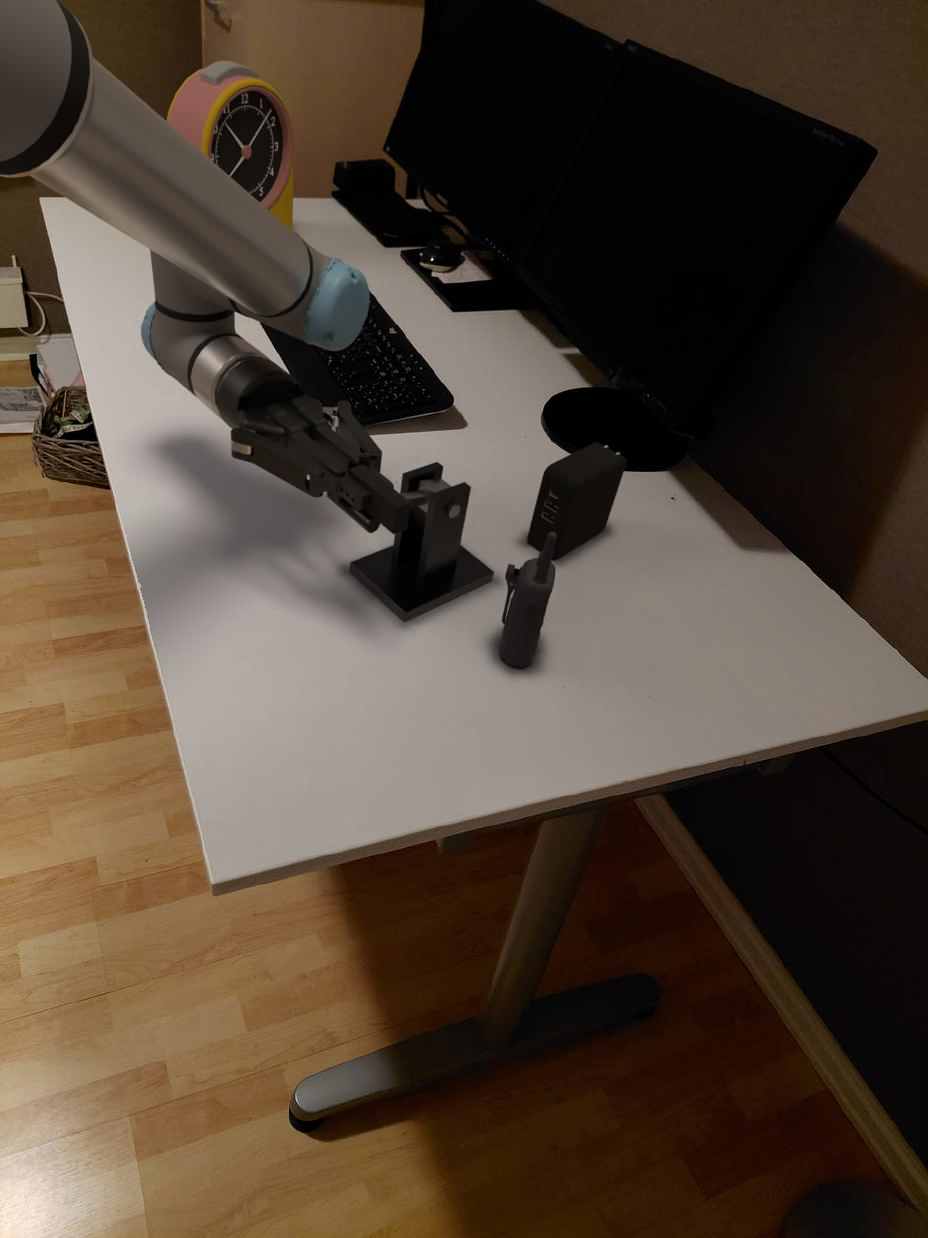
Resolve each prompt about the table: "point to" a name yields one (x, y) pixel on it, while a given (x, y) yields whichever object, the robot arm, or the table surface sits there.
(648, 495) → the table surface
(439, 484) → the lever
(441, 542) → the bracket
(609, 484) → the electronic device
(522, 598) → the two-way radio
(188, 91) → the alarm clock
